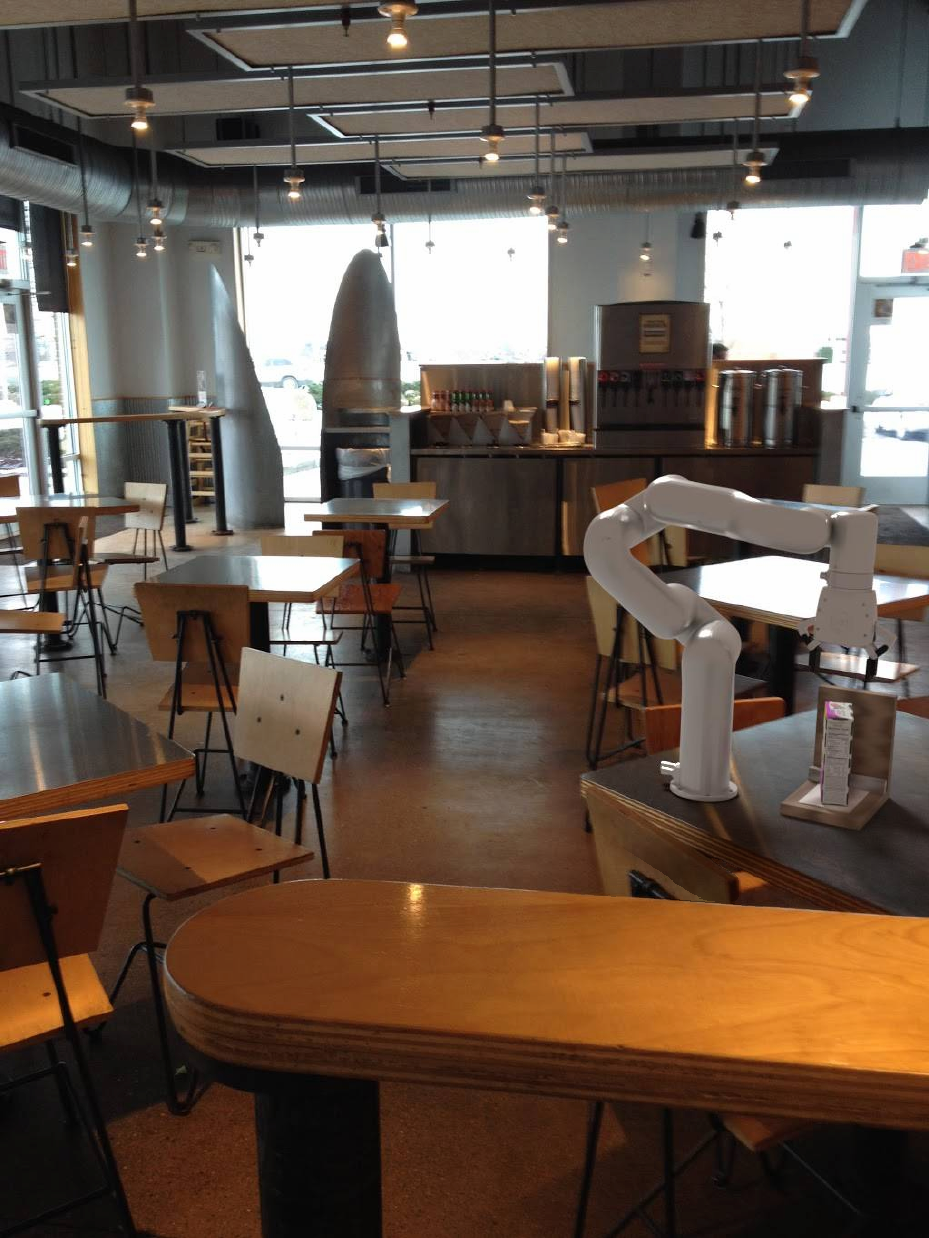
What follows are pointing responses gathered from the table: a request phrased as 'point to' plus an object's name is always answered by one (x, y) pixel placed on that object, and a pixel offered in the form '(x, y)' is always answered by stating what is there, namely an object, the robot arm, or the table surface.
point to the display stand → (852, 760)
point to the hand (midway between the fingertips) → (841, 675)
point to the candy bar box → (836, 753)
